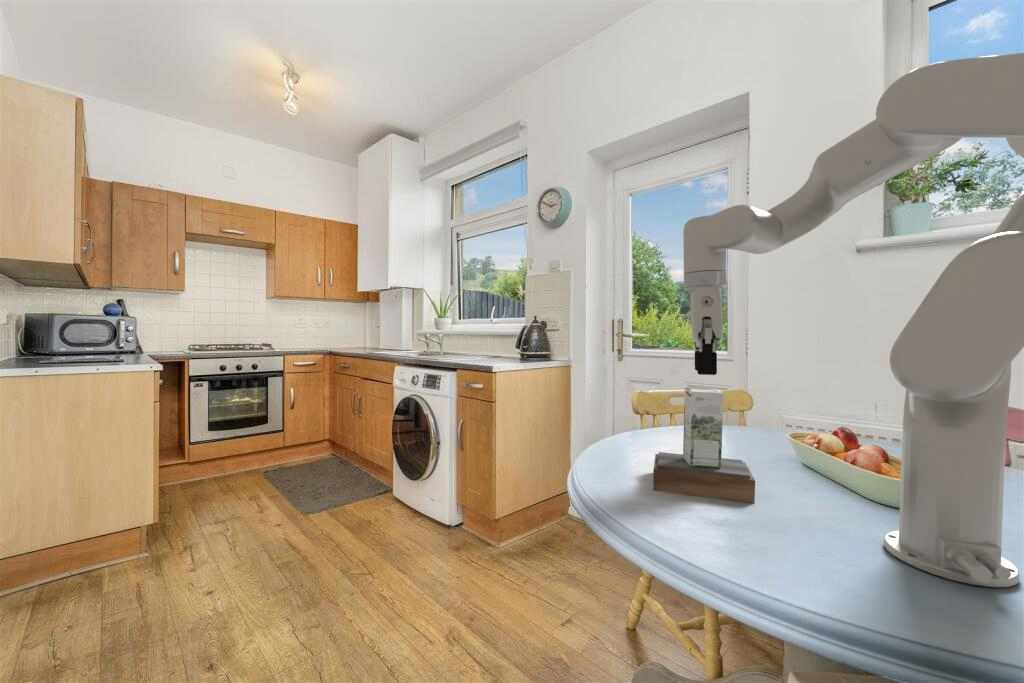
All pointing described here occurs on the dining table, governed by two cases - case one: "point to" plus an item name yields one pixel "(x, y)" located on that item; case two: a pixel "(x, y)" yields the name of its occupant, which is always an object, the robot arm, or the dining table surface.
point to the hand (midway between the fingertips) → (705, 372)
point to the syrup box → (703, 427)
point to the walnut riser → (703, 478)
